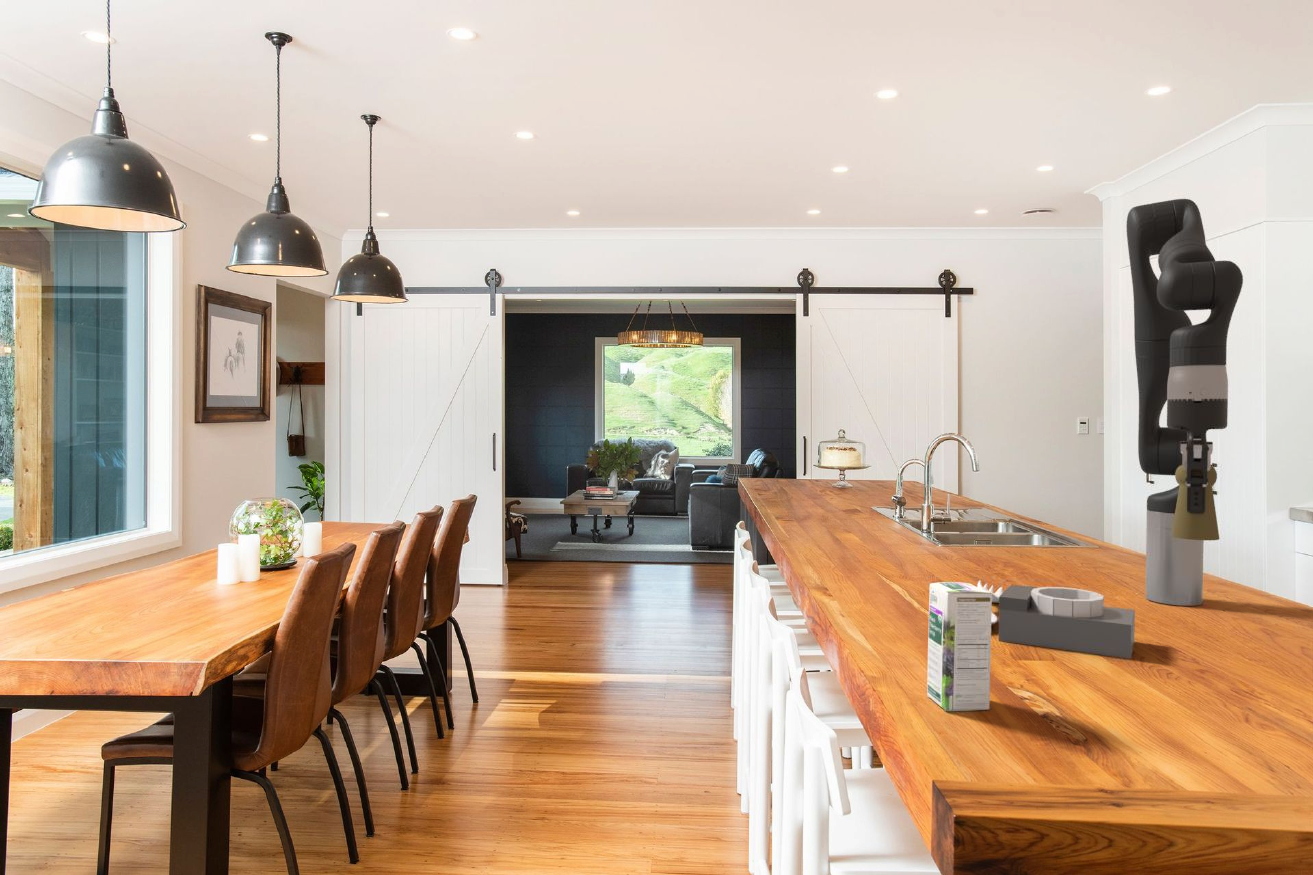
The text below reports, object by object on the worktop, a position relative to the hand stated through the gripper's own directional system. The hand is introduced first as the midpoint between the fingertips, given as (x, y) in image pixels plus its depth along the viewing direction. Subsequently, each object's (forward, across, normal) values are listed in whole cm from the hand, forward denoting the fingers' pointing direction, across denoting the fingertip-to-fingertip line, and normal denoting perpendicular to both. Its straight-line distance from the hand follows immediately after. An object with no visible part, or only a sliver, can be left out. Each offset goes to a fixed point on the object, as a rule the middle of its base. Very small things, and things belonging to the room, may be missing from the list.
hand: (1195, 510), depth 121 cm
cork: (+4, 0, 0) cm, 4 cm away
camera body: (+21, +4, -17) cm, 27 cm away
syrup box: (+21, +42, -25) cm, 53 cm away
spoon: (+22, -9, -31) cm, 39 cm away
